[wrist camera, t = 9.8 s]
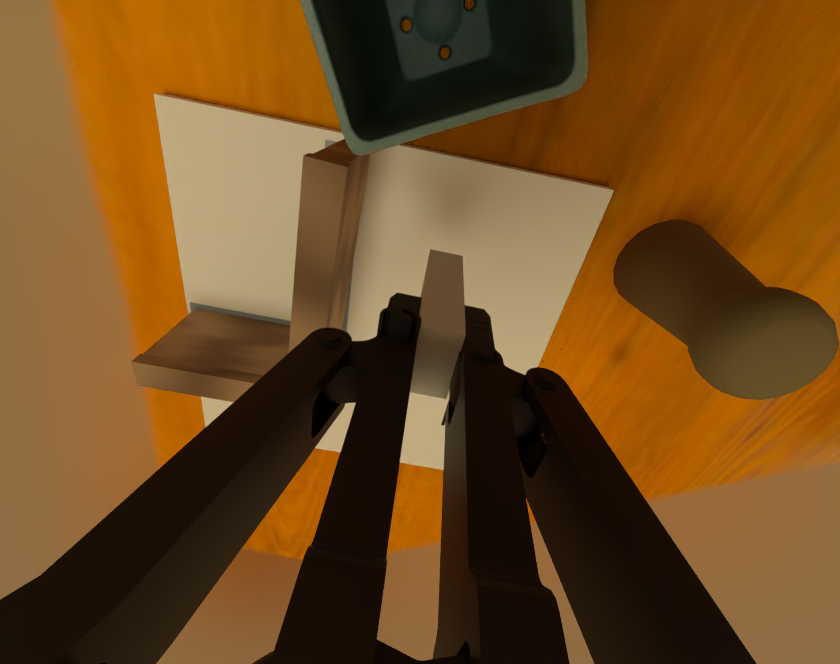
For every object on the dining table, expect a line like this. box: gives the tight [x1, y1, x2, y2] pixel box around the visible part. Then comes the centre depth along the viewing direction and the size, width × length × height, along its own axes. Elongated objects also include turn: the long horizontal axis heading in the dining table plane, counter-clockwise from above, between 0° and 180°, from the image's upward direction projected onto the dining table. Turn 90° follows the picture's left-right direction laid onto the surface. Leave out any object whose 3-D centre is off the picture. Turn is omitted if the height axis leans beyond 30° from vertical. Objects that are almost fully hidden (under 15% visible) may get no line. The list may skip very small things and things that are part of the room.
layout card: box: [154, 94, 614, 470], centre depth 29 cm, size 26×26×1 cm
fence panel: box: [288, 139, 370, 353], centre depth 22 cm, size 12×2×7 cm, turn 166°
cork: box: [614, 220, 839, 400], centre depth 21 cm, size 6×6×11 cm
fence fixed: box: [132, 308, 290, 402], centre depth 25 cm, size 11×2×9 cm, turn 80°
